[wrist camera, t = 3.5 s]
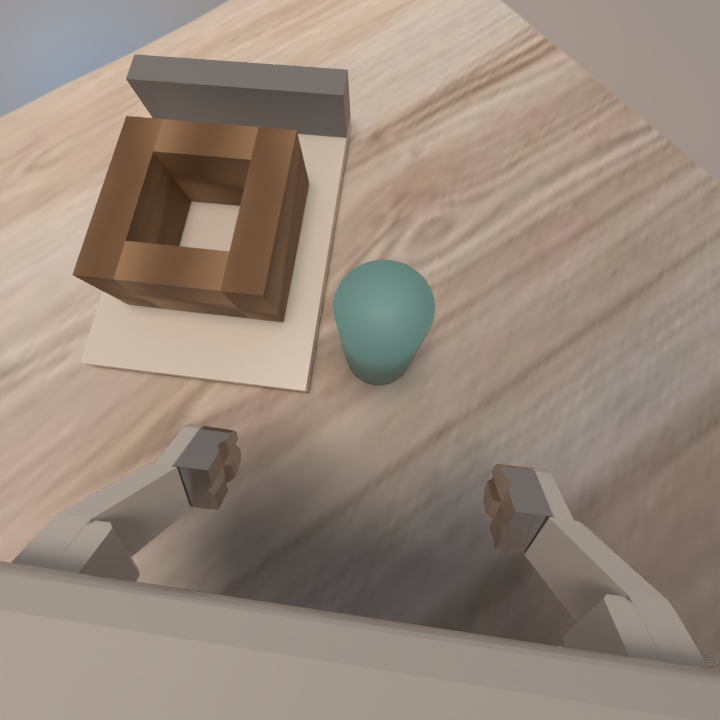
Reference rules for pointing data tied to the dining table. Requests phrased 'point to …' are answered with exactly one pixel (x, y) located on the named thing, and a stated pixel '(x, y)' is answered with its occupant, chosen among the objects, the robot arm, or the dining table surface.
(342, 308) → the teal rounded peg
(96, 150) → the dining table surface
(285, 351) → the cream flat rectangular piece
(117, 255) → the socket block
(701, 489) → the dining table surface
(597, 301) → the dining table surface
